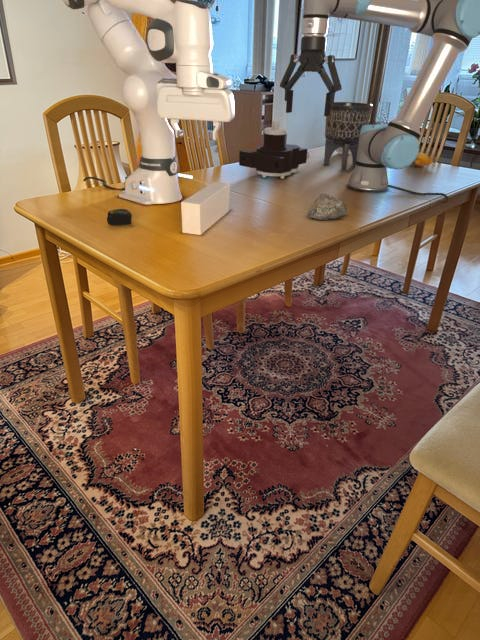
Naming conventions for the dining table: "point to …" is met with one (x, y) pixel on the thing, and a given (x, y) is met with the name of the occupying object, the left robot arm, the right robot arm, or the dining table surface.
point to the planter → (345, 129)
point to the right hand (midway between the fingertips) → (307, 114)
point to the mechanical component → (274, 154)
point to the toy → (422, 160)
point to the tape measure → (119, 217)
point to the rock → (327, 208)
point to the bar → (205, 208)
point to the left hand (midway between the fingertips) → (196, 138)
